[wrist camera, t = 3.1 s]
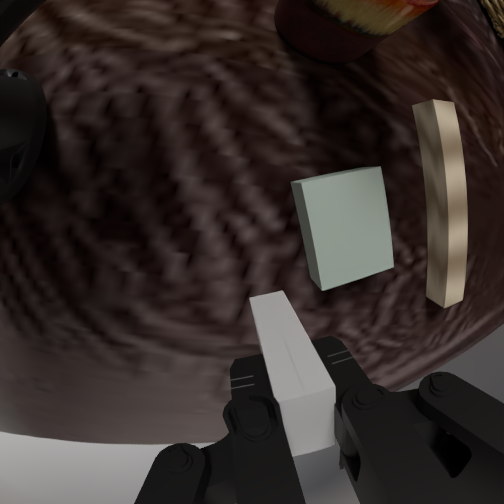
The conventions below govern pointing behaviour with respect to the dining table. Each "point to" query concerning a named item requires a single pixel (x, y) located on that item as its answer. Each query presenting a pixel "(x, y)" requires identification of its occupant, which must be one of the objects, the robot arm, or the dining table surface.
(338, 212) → the block
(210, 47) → the dining table surface
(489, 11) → the basket
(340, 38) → the vase
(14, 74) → the robot arm
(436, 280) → the curved wooden bar
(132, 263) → the dining table surface
